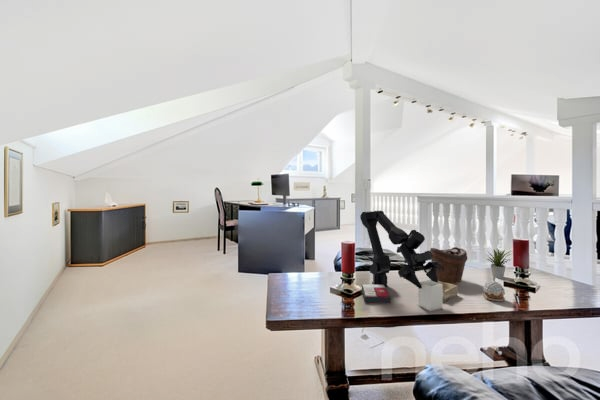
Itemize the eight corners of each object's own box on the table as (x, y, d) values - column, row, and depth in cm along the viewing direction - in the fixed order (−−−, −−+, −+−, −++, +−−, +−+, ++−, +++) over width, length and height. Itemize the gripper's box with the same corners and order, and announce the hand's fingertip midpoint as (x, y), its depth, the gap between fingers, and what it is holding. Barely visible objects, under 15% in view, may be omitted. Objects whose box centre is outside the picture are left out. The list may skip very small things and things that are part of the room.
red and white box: (364, 295, 132) (361, 283, 147) (364, 304, 133) (361, 291, 147) (390, 295, 131) (384, 283, 146) (390, 305, 131) (384, 292, 146)
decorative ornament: (508, 302, 131) (508, 267, 131) (490, 302, 131) (490, 267, 131) (497, 296, 139) (497, 263, 138) (480, 296, 139) (480, 263, 138)
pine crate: (419, 294, 142) (419, 285, 141) (431, 289, 149) (431, 279, 149) (445, 301, 132) (445, 291, 132) (457, 295, 140) (457, 285, 140)
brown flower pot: (471, 278, 165) (471, 245, 165) (462, 288, 150) (461, 252, 150) (437, 273, 177) (436, 243, 177) (425, 281, 162) (424, 248, 162)
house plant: (522, 279, 163) (523, 249, 162) (501, 281, 160) (501, 250, 159) (500, 272, 176) (500, 244, 176) (479, 274, 174) (479, 246, 173)
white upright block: (418, 305, 128) (418, 282, 128) (429, 303, 131) (429, 280, 130) (430, 311, 122) (430, 286, 122) (442, 308, 125) (442, 284, 124)
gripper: (402, 246, 127) (422, 279, 117) (435, 242, 135) (457, 273, 125) (390, 261, 135) (408, 293, 125) (422, 257, 142) (441, 287, 132)
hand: (429, 286), depth 126 cm, fingers open, 9 cm apart
